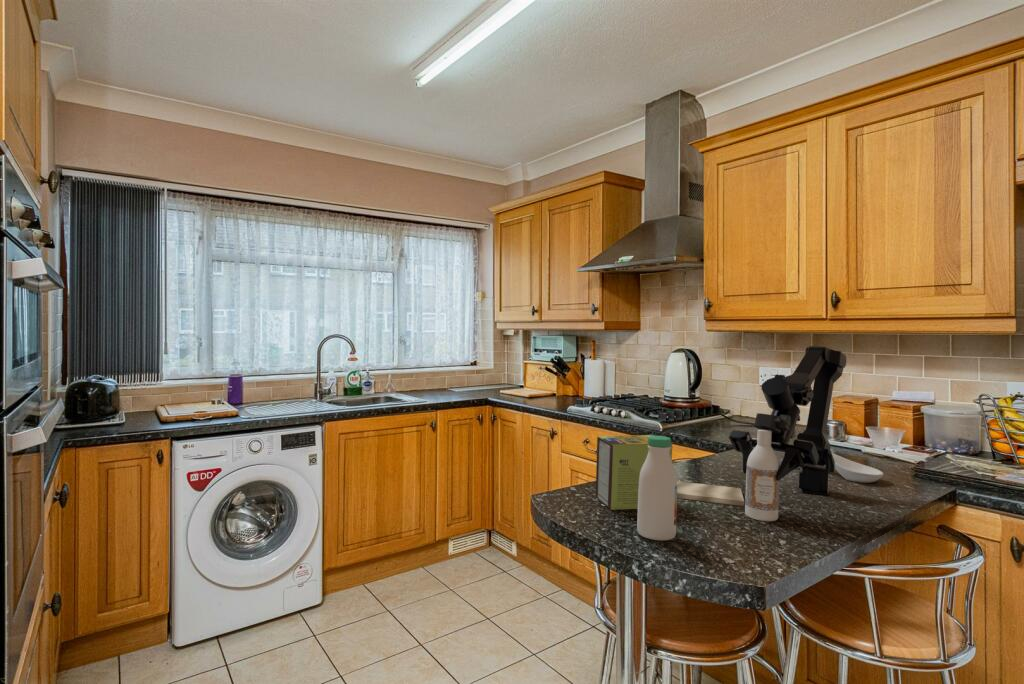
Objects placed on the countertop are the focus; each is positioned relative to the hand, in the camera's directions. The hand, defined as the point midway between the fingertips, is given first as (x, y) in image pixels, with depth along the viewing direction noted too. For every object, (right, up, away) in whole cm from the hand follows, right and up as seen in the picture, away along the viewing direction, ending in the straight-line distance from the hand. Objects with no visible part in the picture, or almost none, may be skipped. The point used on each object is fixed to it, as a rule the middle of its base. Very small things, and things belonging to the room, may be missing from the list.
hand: (760, 476), depth 123 cm
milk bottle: (-27, -9, -12) cm, 31 cm away
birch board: (-6, -9, +17) cm, 20 cm away
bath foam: (+1, -10, +1) cm, 10 cm away
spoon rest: (+42, -11, +41) cm, 60 cm away
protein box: (-27, -9, +9) cm, 30 cm away
